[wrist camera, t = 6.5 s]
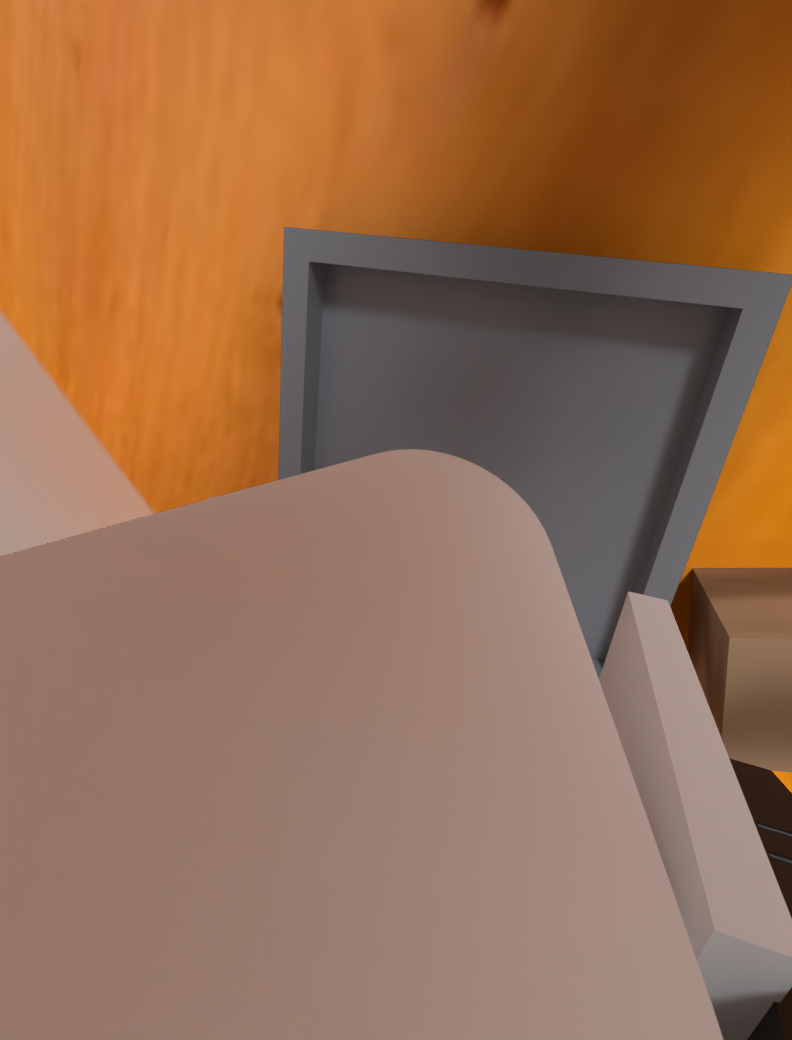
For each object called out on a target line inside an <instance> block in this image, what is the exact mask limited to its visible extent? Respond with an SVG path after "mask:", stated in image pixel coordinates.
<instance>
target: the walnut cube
mask: <svg viewBox="0 0 792 1040" xmlns="http://www.w3.org/2000/svg"><path fill="white" fill-rule="evenodd" d="M689 656H690V659H691V661H692V664H693V666H694V669H695V672H696V674H697V677H698V679H699V682H700V684H701V687H702V690H703V692H704V695H705V697H706V700H707V702H708V705H709V708H710V710H711V713H712V715H713V718H714V720H715V723H716V726H717V728H718V731H719V733H720V736H721V738H722V741H723V744H724V746H725V749H726V751H727V754H728V756H729V758H730V759H733V760H737V761H740V762H744V763H747V764H751V765H754V766H758V767H761V768H765V769H768V770H772V771H782V772H792V568H693V575H692V594H691V614H690V634H689Z"/></svg>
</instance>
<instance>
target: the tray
mask: <svg viewBox="0 0 792 1040" xmlns="http://www.w3.org/2000/svg"><path fill="white" fill-rule="evenodd" d="M791 285H792V275H791V274H780V273H770V272H759V271H748V270H738V269H727V268H716V267H706V266H695V265H684V264H674V263H663V262H652V261H642V260H631V259H620V258H610V257H599V256H588V255H578V254H567V253H556V252H546V251H535V250H524V249H514V248H503V247H492V246H482V245H471V244H460V243H450V242H439V241H428V240H418V239H407V238H397V237H386V236H375V235H365V234H354V233H343V232H333V231H322V230H311V229H301V228H290V227H284V257H283V301H282V345H281V389H280V433H279V476H278V480H281V479H284V478H288V477H292V476H295V475H299V474H303V473H307V472H310V471H314V470H318V469H321V468H325V467H329V466H332V465H336V464H340V463H343V462H347V461H351V460H354V459H358V458H362V457H365V456H369V455H373V454H377V453H381V452H385V451H392V450H401V449H418V450H430V451H436V452H441V453H445V454H449V455H453V456H456V457H459V458H462V459H464V460H467V461H469V462H472V463H474V464H476V465H478V466H480V467H482V468H484V469H485V470H487V471H489V472H490V473H492V474H494V475H495V476H497V477H498V478H499V479H501V480H502V481H503V482H505V483H506V484H507V485H509V486H510V487H511V488H512V489H513V490H514V491H515V492H516V493H517V494H518V495H519V496H520V497H521V498H522V499H523V500H524V501H525V502H526V503H527V505H528V506H529V507H530V508H531V510H532V511H533V512H534V514H535V515H536V516H537V518H538V519H539V521H540V523H541V525H542V526H543V528H544V530H545V532H546V534H547V536H548V538H549V541H550V543H551V545H552V548H553V551H554V554H555V557H556V559H557V562H558V565H559V568H560V571H561V574H562V577H563V579H564V582H565V585H566V588H567V591H568V594H569V596H570V599H571V602H572V605H573V608H574V611H575V613H576V616H577V619H578V622H579V625H580V628H581V630H582V633H583V636H584V639H585V642H586V645H587V647H588V650H589V653H590V656H591V659H592V662H593V664H594V667H595V670H596V673H597V676H598V679H599V677H600V674H601V671H602V668H603V665H604V662H605V659H606V656H607V653H608V650H609V647H610V644H611V641H612V638H613V635H614V632H615V629H616V626H617V623H618V620H619V617H620V614H621V611H622V608H623V605H624V602H625V599H626V596H627V593H628V591H629V592H634V593H638V594H642V595H647V596H651V597H655V598H660V599H664V600H668V602H669V605H670V606H671V603H672V601H673V598H674V595H675V593H676V590H677V587H678V585H679V582H680V579H681V577H682V574H683V571H684V569H685V566H686V563H687V561H688V558H689V555H690V553H691V550H692V548H693V545H694V542H695V540H696V537H697V534H698V532H699V529H700V526H701V524H702V521H703V518H704V516H705V513H706V510H707V508H708V505H709V502H710V500H711V497H712V494H713V492H714V489H715V486H716V484H717V481H718V479H719V476H720V473H721V471H722V468H723V465H724V463H725V460H726V457H727V455H728V452H729V449H730V447H731V444H732V441H733V439H734V436H735V433H736V431H737V428H738V425H739V423H740V420H741V417H742V415H743V412H744V410H745V407H746V404H747V402H748V399H749V396H750V394H751V391H752V388H753V386H754V383H755V380H756V378H757V375H758V372H759V370H760V367H761V364H762V362H763V359H764V356H765V354H766V351H767V348H768V346H769V343H770V341H771V338H772V335H773V333H774V330H775V327H776V325H777V322H778V319H779V317H780V314H781V311H782V309H783V306H784V303H785V301H786V298H787V295H788V293H789V290H790V287H791Z"/></svg>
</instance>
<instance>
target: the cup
mask: <svg viewBox="0 0 792 1040" xmlns="http://www.w3.org/2000/svg"><path fill="white" fill-rule="evenodd" d="M0 1040H723V1037H722V1033H721V1030H720V1027H719V1024H718V1021H717V1018H716V1015H715V1012H714V1009H713V1006H712V1003H711V1000H710V997H709V994H708V991H707V988H706V985H705V982H704V980H703V977H702V974H701V971H700V968H699V965H698V962H697V959H696V956H695V954H694V951H693V948H692V945H691V942H690V939H689V936H688V933H687V931H686V928H685V925H684V922H683V919H682V916H681V913H680V910H679V907H678V905H677V902H676V899H675V896H674V893H673V890H672V887H671V884H670V881H669V879H668V876H667V873H666V870H665V867H664V864H663V861H662V858H661V855H660V853H659V850H658V847H657V844H656V841H655V838H654V835H653V832H652V830H651V827H650V824H649V821H648V818H647V815H646V812H645V809H644V807H643V804H642V801H641V798H640V795H639V792H638V790H637V787H636V784H635V781H634V778H633V775H632V772H631V770H630V767H629V764H628V761H627V758H626V755H625V753H624V750H623V747H622V744H621V741H620V738H619V736H618V733H617V730H616V727H615V724H614V721H613V718H612V716H611V713H610V710H609V707H608V704H607V701H606V699H605V696H604V693H603V690H602V687H601V684H600V682H599V679H598V676H597V673H596V670H595V667H594V664H593V662H592V659H591V656H590V653H589V650H588V647H587V645H586V642H585V639H584V636H583V633H582V630H581V628H580V625H579V622H578V619H577V616H576V613H575V611H574V608H573V605H572V602H571V599H570V596H569V594H568V591H567V588H566V585H565V582H564V579H563V577H562V574H561V571H560V568H559V565H558V562H557V559H556V557H555V554H554V551H553V548H552V545H551V543H550V541H549V538H548V536H547V534H546V532H545V530H544V528H543V526H542V525H541V523H540V521H539V519H538V518H537V516H536V515H535V514H534V512H533V511H532V510H531V508H530V507H529V506H528V505H527V503H526V502H525V501H524V500H523V499H522V498H521V497H520V496H519V495H518V494H517V493H516V492H515V491H514V490H513V489H512V488H511V487H510V486H509V485H507V484H506V483H505V482H503V481H502V480H501V479H499V478H498V477H497V476H495V475H494V474H492V473H490V472H489V471H487V470H485V469H484V468H482V467H480V466H478V465H476V464H474V463H472V462H469V461H467V460H464V459H462V458H459V457H456V456H453V455H449V454H445V453H441V452H436V451H430V450H418V449H401V450H392V451H385V452H381V453H377V454H373V455H369V456H365V457H362V458H358V459H354V460H351V461H347V462H343V463H340V464H336V465H332V466H329V467H325V468H321V469H318V470H314V471H310V472H307V473H303V474H299V475H295V476H292V477H288V478H284V479H281V480H277V481H273V482H270V483H266V484H262V485H259V486H255V487H251V488H248V489H244V490H240V491H237V492H233V493H229V494H226V495H222V496H218V497H215V498H211V499H207V500H204V501H200V502H196V503H193V504H189V505H185V506H182V507H178V508H174V509H171V510H167V511H163V512H160V513H156V514H152V515H149V516H145V517H141V518H138V519H134V520H131V521H127V522H123V523H119V524H116V525H112V526H108V527H105V528H101V529H98V530H94V531H91V532H87V533H84V534H80V535H76V536H73V537H69V538H66V539H62V540H58V541H55V542H51V543H47V544H44V545H40V546H37V547H33V548H29V549H26V550H22V551H19V552H15V553H12V554H8V555H4V556H1V557H0Z"/></svg>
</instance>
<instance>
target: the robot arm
mask: <svg viewBox="0 0 792 1040" xmlns="http://www.w3.org/2000/svg"><path fill="white" fill-rule="evenodd" d="M211 498H215V497H214V496H212V497H210V498H208V499H211ZM206 500H207V499H206ZM599 682H600V684H601V687H602V690H603V693H604V696H605V699H606V701H607V704H608V707H609V710H610V713H611V716H612V718H613V721H614V724H615V727H616V730H617V733H618V736H619V738H620V741H621V744H622V747H623V750H624V753H625V755H626V758H627V761H628V764H629V767H630V770H631V772H632V775H633V778H634V781H635V784H636V787H637V790H638V792H639V795H640V798H641V801H642V804H643V807H644V809H645V812H646V815H647V818H648V821H649V824H650V827H651V830H652V832H653V835H654V838H655V841H656V844H657V847H658V850H659V853H660V855H661V858H662V861H663V864H664V867H665V870H666V873H667V876H668V879H669V881H670V884H671V887H672V890H673V893H674V896H675V899H676V902H677V905H678V907H679V910H680V913H681V916H682V919H683V922H684V925H685V928H686V931H687V933H688V936H689V939H690V942H691V945H692V948H693V951H694V954H695V956H696V959H697V962H698V965H699V968H700V971H701V974H702V977H703V980H704V982H705V985H706V988H707V991H708V994H709V997H710V1000H711V1003H712V1006H713V1009H714V1012H715V1015H716V1018H717V1021H718V1024H719V1027H720V1030H721V1033H722V1037H723V1040H792V793H791V792H790V791H789V790H788V789H787V788H786V787H785V785H784V784H783V783H782V782H781V781H780V780H779V779H778V778H777V777H776V775H775V774H774V773H773V772H772V771H771V770H768V769H765V768H761V767H758V766H754V765H751V764H747V763H744V762H740V761H737V760H733V759H730V758H729V756H728V754H727V751H726V749H725V746H724V744H723V741H722V738H721V736H720V733H719V731H718V728H717V726H716V723H715V720H714V718H713V715H712V713H711V710H710V708H709V705H708V702H707V700H706V697H705V695H704V692H703V690H702V687H701V684H700V682H699V679H698V677H697V674H696V672H695V669H694V666H693V664H692V661H691V659H690V656H689V654H688V651H687V648H686V646H685V643H684V641H683V638H682V636H681V633H680V631H679V628H678V625H677V623H676V620H675V618H674V615H673V613H672V610H671V607H670V605H669V602H668V600H664V599H660V598H655V597H651V596H647V595H642V594H638V593H634V592H629V591H628V593H627V596H626V599H625V602H624V605H623V608H622V611H621V614H620V617H619V620H618V623H617V626H616V629H615V632H614V635H613V638H612V641H611V644H610V647H609V650H608V653H607V656H606V659H605V662H604V665H603V668H602V671H601V674H600V677H599Z"/></svg>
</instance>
